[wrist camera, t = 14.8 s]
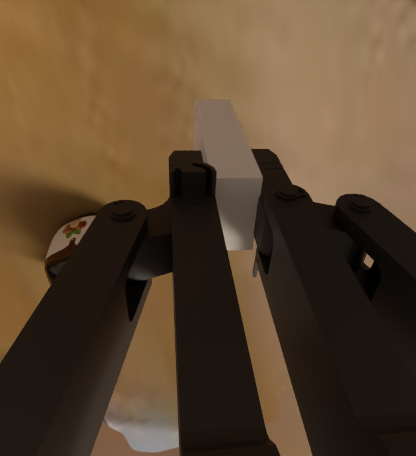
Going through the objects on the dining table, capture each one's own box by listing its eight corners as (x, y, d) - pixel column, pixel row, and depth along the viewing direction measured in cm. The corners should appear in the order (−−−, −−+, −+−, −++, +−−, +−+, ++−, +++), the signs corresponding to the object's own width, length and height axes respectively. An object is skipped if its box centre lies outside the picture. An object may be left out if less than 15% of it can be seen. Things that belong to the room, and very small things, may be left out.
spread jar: (126, 203, 47) (118, 267, 38) (149, 266, 54) (147, 333, 45) (34, 221, 47) (4, 288, 38) (69, 281, 54) (50, 350, 45)
